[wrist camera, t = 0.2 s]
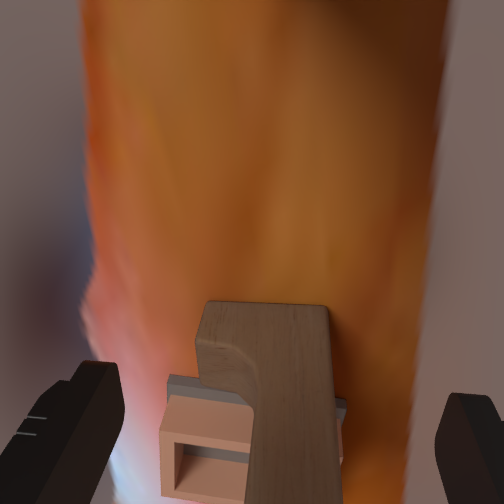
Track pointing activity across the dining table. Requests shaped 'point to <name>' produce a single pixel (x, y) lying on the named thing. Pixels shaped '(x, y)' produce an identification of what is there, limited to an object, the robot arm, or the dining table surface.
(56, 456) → the robot arm
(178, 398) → the block holder
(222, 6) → the dining table surface
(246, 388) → the wooden block
